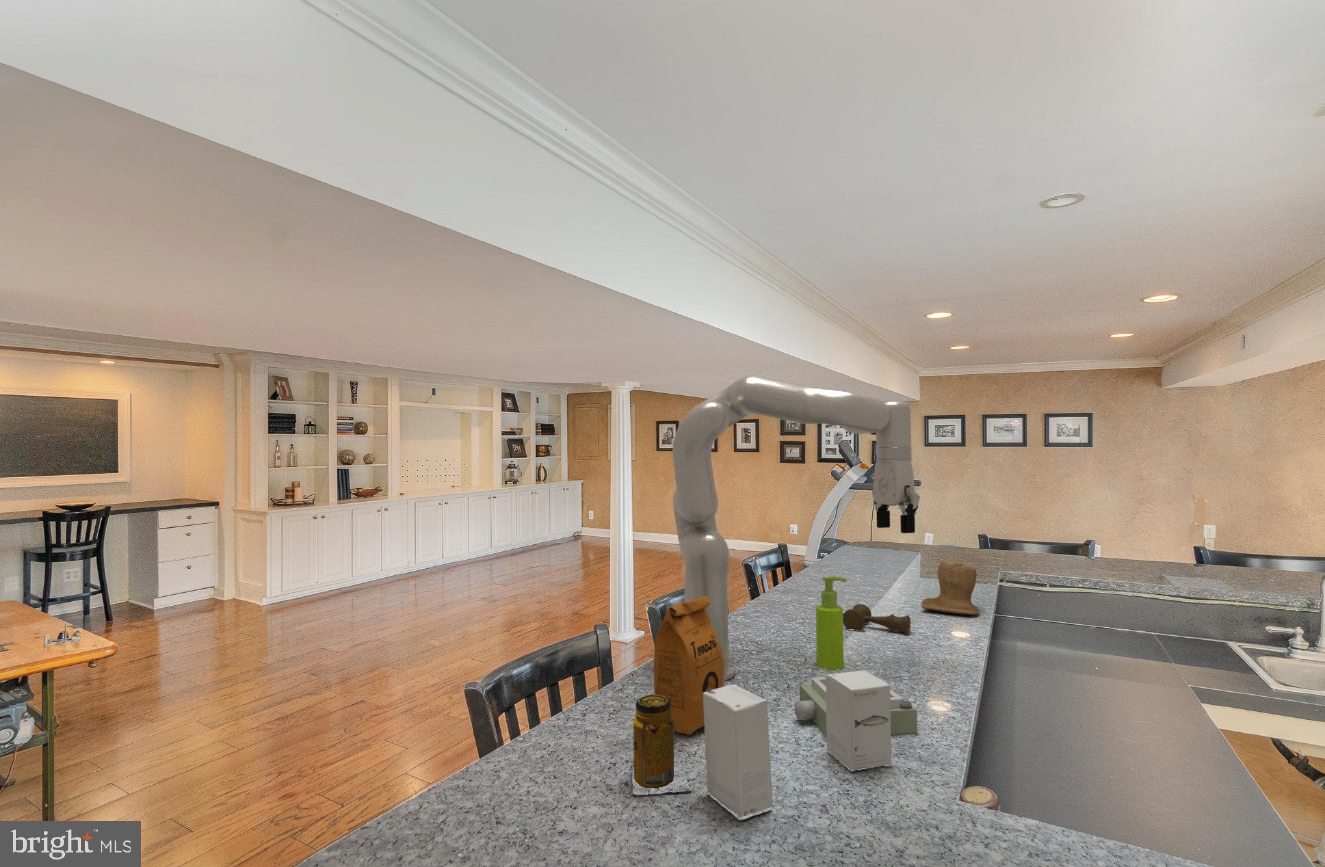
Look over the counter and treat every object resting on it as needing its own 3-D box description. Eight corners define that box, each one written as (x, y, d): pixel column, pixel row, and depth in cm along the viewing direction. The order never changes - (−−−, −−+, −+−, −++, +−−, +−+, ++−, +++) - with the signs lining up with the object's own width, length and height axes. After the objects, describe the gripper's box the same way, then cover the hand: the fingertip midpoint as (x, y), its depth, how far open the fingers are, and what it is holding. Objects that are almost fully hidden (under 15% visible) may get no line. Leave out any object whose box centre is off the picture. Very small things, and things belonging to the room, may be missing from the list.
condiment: (630, 771, 95) (629, 692, 96) (685, 768, 96) (684, 689, 96) (632, 797, 88) (632, 712, 88) (691, 794, 89) (690, 709, 89)
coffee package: (733, 720, 113) (732, 598, 113) (687, 743, 104) (686, 611, 105) (693, 704, 120) (691, 590, 120) (646, 725, 111) (645, 601, 112)
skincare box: (773, 811, 84) (772, 700, 85) (737, 825, 81) (736, 710, 82) (737, 782, 92) (735, 681, 92) (702, 794, 89) (701, 689, 89)
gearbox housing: (811, 740, 104) (811, 707, 105) (784, 706, 118) (784, 677, 119) (917, 732, 107) (916, 700, 107) (878, 700, 121) (878, 672, 121)
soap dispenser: (849, 671, 137) (848, 580, 138) (817, 669, 138) (816, 579, 139) (847, 662, 143) (845, 575, 143) (816, 660, 144) (814, 574, 145)
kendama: (906, 641, 160) (829, 628, 170) (913, 632, 168) (839, 620, 179) (906, 617, 160) (830, 606, 171) (913, 610, 168) (839, 599, 179)
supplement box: (851, 774, 94) (849, 689, 94) (825, 751, 101) (824, 673, 101) (893, 767, 96) (891, 684, 96) (865, 745, 103) (863, 668, 103)
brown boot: (981, 610, 187) (980, 560, 187) (976, 620, 177) (975, 567, 177) (928, 604, 195) (927, 556, 196) (920, 612, 185) (919, 562, 186)
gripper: (859, 455, 150) (860, 526, 149) (900, 455, 133) (902, 535, 132) (887, 455, 151) (888, 525, 151) (932, 455, 134) (933, 534, 134)
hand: (895, 530), depth 142 cm, fingers open, 9 cm apart
